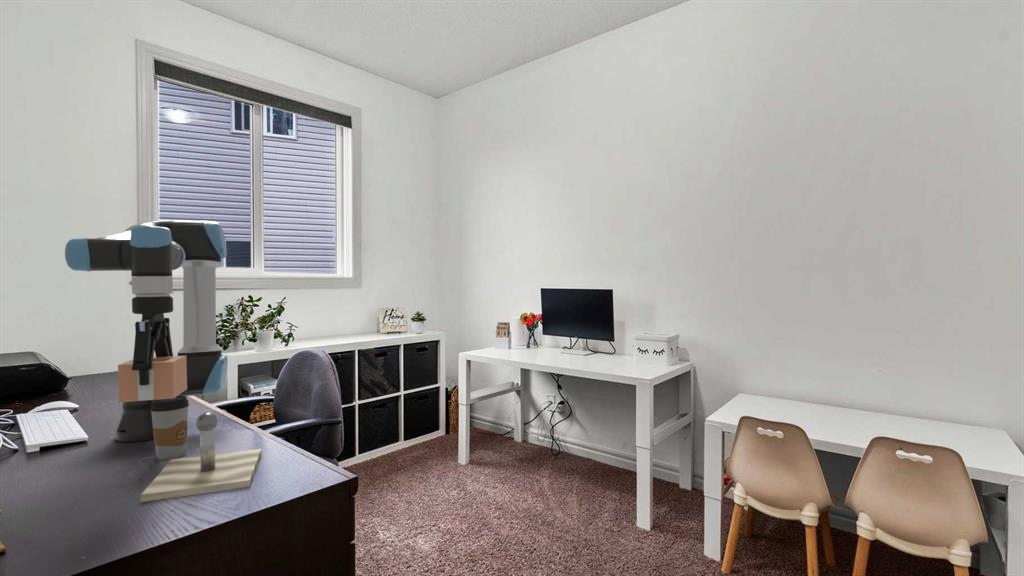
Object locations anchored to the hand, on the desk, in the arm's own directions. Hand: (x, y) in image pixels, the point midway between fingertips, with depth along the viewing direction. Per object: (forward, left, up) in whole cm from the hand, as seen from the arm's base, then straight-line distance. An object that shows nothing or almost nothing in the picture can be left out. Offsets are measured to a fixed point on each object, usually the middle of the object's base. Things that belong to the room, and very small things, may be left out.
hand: (155, 394), depth 113 cm
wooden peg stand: (0, +10, -20) cm, 22 cm away
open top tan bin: (0, 0, 0) cm, 0 cm away
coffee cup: (-19, -2, -20) cm, 28 cm away
